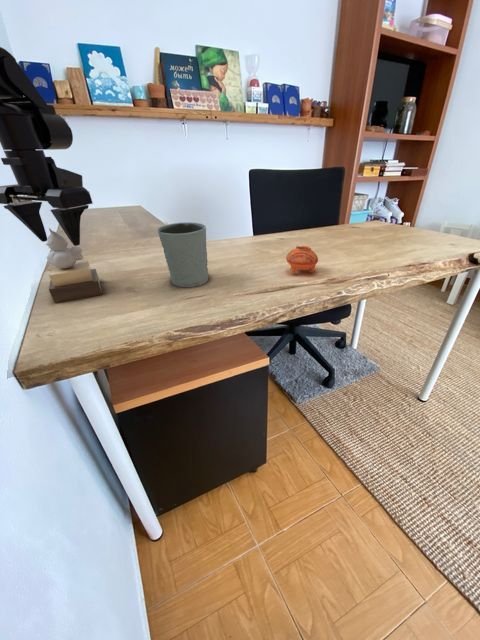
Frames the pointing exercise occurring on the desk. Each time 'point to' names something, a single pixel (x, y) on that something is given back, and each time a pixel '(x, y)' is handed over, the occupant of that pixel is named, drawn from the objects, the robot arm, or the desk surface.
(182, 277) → the grey green cup
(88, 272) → the memo paper holder
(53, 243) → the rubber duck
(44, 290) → the desk surface
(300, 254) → the pot
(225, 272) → the desk surface
